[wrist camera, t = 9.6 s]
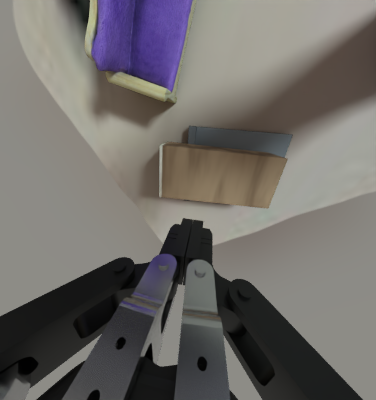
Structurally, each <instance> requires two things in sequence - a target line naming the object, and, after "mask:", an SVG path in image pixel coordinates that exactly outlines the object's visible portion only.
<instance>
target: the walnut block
mask: <svg viewBox="0 0 376 400" xmlns="http://www.w3.org/2000/svg"><path fill="white" fill-rule="evenodd" d="M286 162H287V158H284V157H281V156H277V155H274V154H271V153H268V152H259V151H249V150H240V149H231V148H222V147H212V146H203V145H194V144H184V143H175V142H165V143H163V144H161V145H160V164H159V197H165V198H175V199H184V200H194V201H203V202H213V203H222V204H232V205H241V206H250V207H260V208H269V205H270V203H271V200H272V198H273V195H274V193H275V190H276V187H277V185H278V182H279V180H280V177H281V175H282V172H283V170H284V167H285V165H286Z"/></svg>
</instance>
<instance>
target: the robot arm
mask: <svg viewBox="0 0 376 400" xmlns="http://www.w3.org/2000/svg"><path fill="white" fill-rule="evenodd" d="M202 227H203V221H199V220H192V219H185V218H183V220H182V223H181V225H179V224H174V225H173V226H172V227H171V228H170V230H169V233H168V235H167V238H166V240H165V242H164V244H163V247H162V249H161V251H160V254H159V255H157V256H156V257H154V258H153V260H152V261H151V262H148V263H143V264H134V262H133V260H131V259H130V258H126V257H122V258H118V259H115V260H113V261H111V262H109V263H107V264H105V265H103V266H101V267H99V268H97V269H95V270H93V271H91V272H89V273H87V274H85V275H83V276H81V277H79V278H77V279H75V280H73V281H71V282H69V283H67V284H65V285H63V286H61V287H59V288H57V289H55V290H53V291H51V292H49V293H47V294H44V295H42V296H41V297H38V298H36V299H34V300H32V301H30V302H28V303H26V304H24V305H22V306H20V307H18V308H16V309H14V310H12V311H10V312H8V313H6V314H4V315H2V316H0V400H25V398H26V396H27V394H28V391H29V389H30V388H31V387H32V386H34V385H35V384H36V383H38V382H39V381H40V380H42V379H43V378H44V377H45V376H47V375H48V374H49V373H51V372H52V371H53V370H55V369H56V368H57V367H58V366H60V365H61V364H62V363H64V362H65V361H67V360H68V359H69V358H70V357H72V356H73V355H74V354H76V353H77V352H78V351H80V350H81V349H82V348H84V347H85V346H86V345H87V344H89V343H90V342H91V341H93V340H94V339H95V338H97V337H98V336H99V335H101V334H102V335H101V336H100V338H99V340H98V341H97V343H96V344H95V346H94V348H93V349H92V351H91V353H90V354H89V356H88V358H87V359H86V360H85V361H83V362H82V363H80V364H79V365H78V366H76V367H75V368H74V369H72V370H71V371H70V372H68V373H67V374H66V375H65V376H64V377H62V378H61V379H60V380H59V381H58V382H57V383H55V384H54V385H53V386H52V387H51V388H49V389H48V390H47V391H46V392H45V393H44V394H43V395H41V396H40V397H39V398H38V399H37V400H238V399H237V398H236V397H235V395H234V394H233V393H232V392H231V391H230V390H229V382H228V373H227V364H226V355H225V347H224V337H223V335H224V336H225V338H226V340H227V341H228V343H229V344H230V346H231V348H232V350H233V351H234V353H235V354H236V356H237V358H238V360H239V361H240V363H241V365H242V366H243V368H244V370H245V371H246V373H247V375H248V376H249V378H250V379H251V381H252V383H253V385H254V386H255V388H256V390H257V391H258V393H259V395H260V396H261V398H262V400H363V399H362V398H361V397H360V396H359V395H358V394H357V393H356V392H355V391H354V390H353V389H352V388H351V387H350V386H349V385H348V384H347V383H346V382H345V381H344V380H343V378H342V377H341V376H340V375H339V374H338V373H337V372H336V371H335V370H334V369H333V368H332V367H331V366H330V365H329V364H328V363H327V362H326V361H325V360H324V359H323V358H322V357H321V356H320V354H319V353H318V352H317V351H316V350H315V349H314V348H313V347H312V346H311V345H310V344H309V343H308V342H307V341H306V340H305V339H304V338H303V337H302V336H301V335H300V334H299V333H298V332H297V331H296V329H295V328H294V327H293V326H292V325H291V324H290V323H289V322H288V321H287V320H286V319H285V318H284V317H283V316H282V315H281V314H280V313H279V312H278V311H277V310H276V308H275V307H274V306H273V305H272V304H271V303H270V302H269V301H268V300H267V299H266V298H265V297H264V296H263V295H262V294H261V293H260V292H259V291H258V290H257V289H256V288H255V287H254V286H253V285H252V284H251V283H250V282H248V281H246V280H243V279H235V280H233V281H232V282H230V281H228V280H227V279H225V278H222V277H221V276H219V275H218V274H217V273H216V271H215V270H214V268H213V265H212V233H211V231H210V229H206V228H202ZM183 277H184V280H183ZM182 282H183V285H185V293H184V303H183V313H182V323H181V334H180V344H179V354H178V364H177V365H172V366H164V367H160V366H158V365H157V361H158V357H159V354H160V350H161V344H162V339H163V336H164V332H165V329H166V325H167V322H168V319H169V315H170V312H171V309H172V305H173V302H174V299H175V294H176V291H177V287H178V284H182Z"/></svg>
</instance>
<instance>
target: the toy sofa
mask: <svg viewBox="0 0 376 400" xmlns="http://www.w3.org/2000/svg"><path fill="white" fill-rule="evenodd" d="M195 4H196V0H90V13H89V21H88V26H87V31H86V36H85V52H86V54H87V56H88V57H89V58H90V59H91V60H93V61H95V62H96V66H97V68H98V70H100V71H106V78H107V80H108V81H109V82H110V83H113V84H115V85H118V86H121V87H124V88H127V89H129V90H132V91H135V92H138V93H140V94H143V95H146V96H149V97H151V98H154V99H157V100H160V101H162V102H165V101H169V102H172V103H176V100H177V98H176V97H175V93H176V89H177V84H178V80H179V75H180V71H181V66H182V62H183V57H184V53H185V48H186V44H187V39H188V35H189V30H190V26H191V22H192V17H193V13H194V9H195Z"/></svg>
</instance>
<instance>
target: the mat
mask: <svg viewBox="0 0 376 400" xmlns="http://www.w3.org/2000/svg"><path fill="white" fill-rule="evenodd" d="M291 138H292V135H289V134H278V133H266V132H254V131H243V130H231V129H219V128H207V127H196V126H189V134H188V144H194V145H203V146H212V147H222V148H231V149H240V150H249V151H259V152H268V153H271V154H274V155H277V156H281V157H285V155H286V152H287V149H288V146H289V144H290V141H291ZM187 201H189V200H187Z"/></svg>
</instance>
